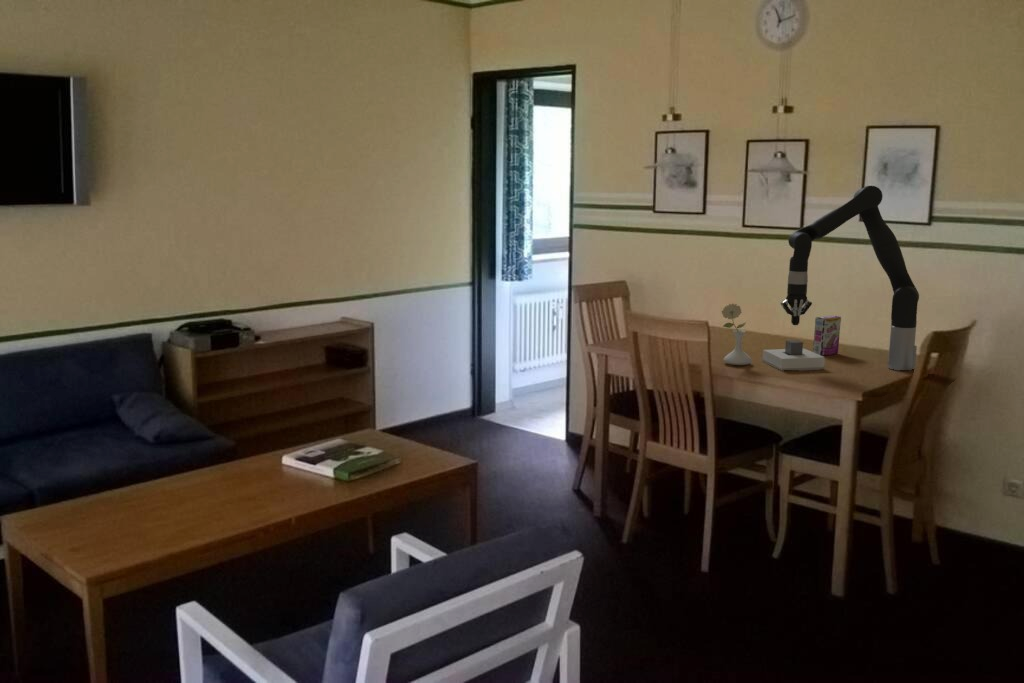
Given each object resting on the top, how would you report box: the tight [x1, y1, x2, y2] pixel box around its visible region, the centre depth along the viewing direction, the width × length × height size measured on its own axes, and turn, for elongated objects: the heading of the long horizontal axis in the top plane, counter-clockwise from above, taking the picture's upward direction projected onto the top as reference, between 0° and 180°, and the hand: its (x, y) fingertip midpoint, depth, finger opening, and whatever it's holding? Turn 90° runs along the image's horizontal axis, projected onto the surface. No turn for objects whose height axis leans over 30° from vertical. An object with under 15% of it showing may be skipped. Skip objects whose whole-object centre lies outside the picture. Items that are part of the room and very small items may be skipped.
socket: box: [762, 348, 826, 372], centre depth 380 cm, size 18×18×5 cm
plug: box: [784, 339, 804, 355], centre depth 380 cm, size 5×5×9 cm
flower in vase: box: [721, 303, 753, 366], centre depth 381 cm, size 13×11×25 cm
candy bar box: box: [812, 314, 842, 357], centre depth 401 cm, size 11×5×16 cm, turn 123°
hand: (795, 324), depth 378 cm, fingers closed
